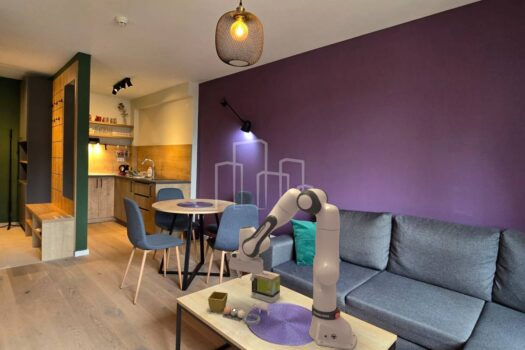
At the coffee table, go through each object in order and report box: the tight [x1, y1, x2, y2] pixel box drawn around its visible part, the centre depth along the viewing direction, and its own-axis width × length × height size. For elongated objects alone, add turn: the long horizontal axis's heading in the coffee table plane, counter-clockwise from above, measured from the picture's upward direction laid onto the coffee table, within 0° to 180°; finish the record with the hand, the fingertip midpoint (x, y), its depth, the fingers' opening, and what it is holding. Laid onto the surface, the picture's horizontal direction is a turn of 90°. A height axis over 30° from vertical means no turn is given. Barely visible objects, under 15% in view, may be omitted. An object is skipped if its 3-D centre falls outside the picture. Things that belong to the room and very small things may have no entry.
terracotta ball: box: [223, 306, 232, 315], centre depth 161 cm, size 4×4×4 cm
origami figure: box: [252, 302, 270, 317], centre depth 164 cm, size 12×8×5 cm
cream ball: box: [237, 309, 246, 318], centre depth 157 cm, size 4×4×4 cm
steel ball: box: [230, 307, 239, 316], centre depth 159 cm, size 4×4×4 cm
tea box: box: [251, 269, 281, 304], centre depth 183 cm, size 15×10×15 cm
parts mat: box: [221, 313, 243, 323], centre depth 159 cm, size 11×7×1 cm, turn 66°
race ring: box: [242, 313, 262, 327], centre depth 155 cm, size 8×8×2 cm
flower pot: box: [207, 290, 229, 314], centre depth 165 cm, size 9×9×9 cm
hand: (245, 279), depth 168 cm, fingers open, 6 cm apart
